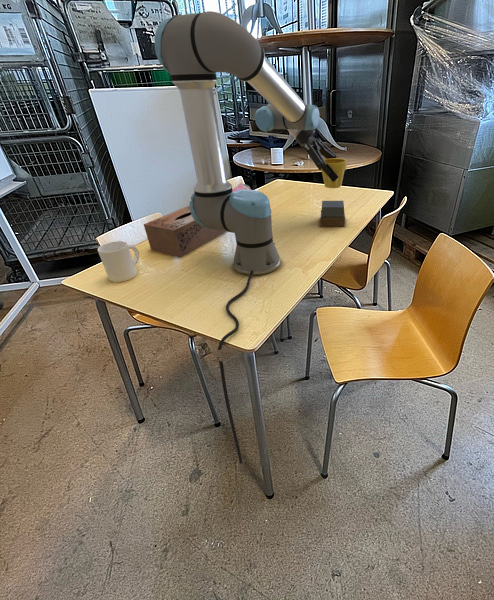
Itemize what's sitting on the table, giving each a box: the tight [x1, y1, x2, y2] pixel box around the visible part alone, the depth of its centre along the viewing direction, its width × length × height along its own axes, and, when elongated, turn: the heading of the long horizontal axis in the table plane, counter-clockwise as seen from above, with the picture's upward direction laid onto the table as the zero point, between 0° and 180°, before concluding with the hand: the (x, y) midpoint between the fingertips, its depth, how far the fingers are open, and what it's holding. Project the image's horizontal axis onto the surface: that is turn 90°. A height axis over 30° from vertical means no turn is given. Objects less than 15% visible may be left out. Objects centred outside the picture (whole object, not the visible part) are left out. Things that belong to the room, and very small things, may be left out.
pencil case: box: [232, 182, 252, 192], centre depth 162 cm, size 21×9×9 cm, turn 162°
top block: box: [321, 200, 345, 217], centre depth 139 cm, size 9×9×4 cm
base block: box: [319, 209, 346, 228], centre depth 141 cm, size 10×10×4 cm
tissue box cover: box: [143, 205, 226, 258], centre depth 127 cm, size 26×14×10 cm, turn 154°
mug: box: [97, 240, 140, 283], centre depth 105 cm, size 12×8×10 cm
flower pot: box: [320, 157, 347, 189], centre depth 132 cm, size 10×10×10 cm
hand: (340, 176), depth 131 cm, fingers closed on flower pot, 10 cm apart
